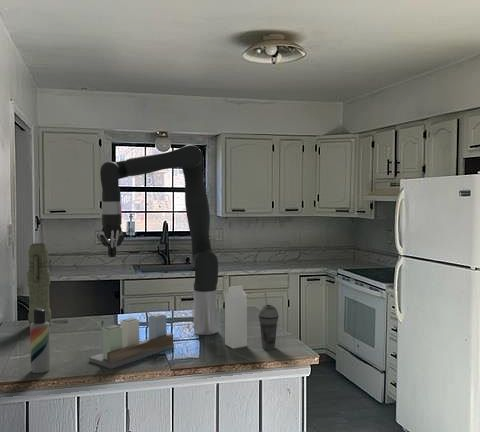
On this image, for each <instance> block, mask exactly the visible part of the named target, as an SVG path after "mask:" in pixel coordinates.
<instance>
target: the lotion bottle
mask: <svg viewBox="0 0 480 432" xmlns="http://www.w3.org/2000/svg"><path fill="white" fill-rule="evenodd" d="M29 333H30V335H29V338H30V339H29V340H30V345H29V346H30V371H31V373H33V374H43V373H46V372H49V371H50V370H51V343H50V340H51V339H50V337H51V335H50V327H49V322H46V309H45V308H34V310H33V323H31V324H30V328H29Z"/></svg>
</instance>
